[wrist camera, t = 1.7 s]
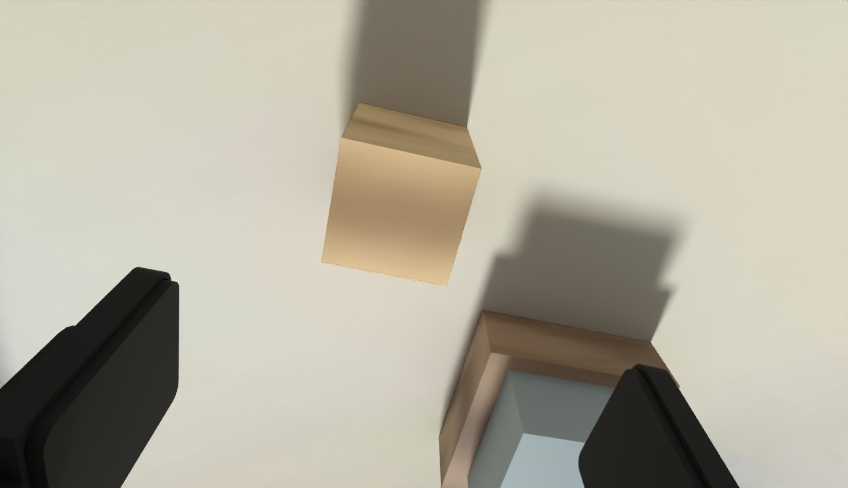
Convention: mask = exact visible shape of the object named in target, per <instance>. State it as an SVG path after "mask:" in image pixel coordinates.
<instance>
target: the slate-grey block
mask: <svg viewBox="0 0 848 488" xmlns="http://www.w3.org/2000/svg"><path fill="white" fill-rule="evenodd" d="M614 389H615V388H612V387H606V386H601V385H595V384H589V383H583V382H577V381H571V380H565V379H560V378H554V377H548V376H542V375H536V374H530V373H524V372H519V371H513V370H508V372H507V375H506V378H505V380H504V383H503V385H502V388H501V391H500V393H499V396H498V399H497V401H496V404H495V406H494V409H493V412H492V414H491V417H490V419H489V422H488V425H487V427H486V430H485V433H484V435H483V438H482V440H481V443H480V446H479V448H478V451H477V454H476V456H475V459H474V461H473V464H472V467H471V469H470V472H469V474H468V477H467V480H468V488H584V485H583V482H582V478H581V475H580V472H579V467H578V459H579V454H580V452H581V450H582V448H583V446H584V444H585V442H586V440H587V439H588V437H589V435H590V433H591V431H592V429H593V428H594V426H595V424H596V422H597V420H598V418H599V417H600V415H601V413H602V411H603V409H604V407H605V406H606V404H607V402H608V400H609V398H610V396H611V395H612V393H613V391H614Z"/></svg>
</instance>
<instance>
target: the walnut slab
mask: <svg viewBox="0 0 848 488" xmlns="http://www.w3.org/2000/svg"><path fill="white" fill-rule="evenodd" d="M636 364H643V365H648V366H653V367H658V368H663V369H665V370H667V371H668V372H669V374H670V375H671V377H672V378H673V380H674V382H675V383H676V385H677V387H678V388H679V387H680V386H679V385H678V383H677V381H676V380H675V378H674V377H673V375H672V374H671V372H670V371H669V369H668V368H667V366H666V365H665V363H664V362H663V360H662V359H661V357H660V356H659V354H658V353H657V351H656V350H655V348H654V347H653V345H652V344H651V342H646V341H641V340H636V339H631V338H625V337H620V336H615V335H610V334H604V333H599V332H594V331H589V330H584V329H578V328H573V327H568V326H563V325H558V324H552V323H547V322H542V321H537V320H531V319H526V318H521V317H516V316H511V315H505V314H500V313H495V312H490V311H484V310H482V313H481V316H480V319H479V322H478V325H477V328H476V331H475V334H474V337H473V339H472V342H471V345H470V348H469V351H468V354H467V357H466V360H465V363H464V366H463V369H462V372H461V375H460V378H459V380H458V383H457V386H456V389H455V392H454V395H453V398H452V401H451V404H450V407H449V410H448V413H447V416H446V419H445V421H444V424H443V427H442V430H441V433H440V436H439V450H440V472H441V488H468V480H467V477H468V474H469V472H470V469H471V467H472V464H473V461H474V459H475V456H476V454H477V451H478V448H479V446H480V443H481V440H482V438H483V435H484V433H485V430H486V427H487V425H488V422H489V419H490V417H491V414H492V412H493V409H494V406H495V404H496V401H497V399H498V396H499V393H500V391H501V388H502V385H503V383H504V380H505V378H506V375H507V372H508V370H513V371H519V372H524V373H530V374H536V375H542V376H548V377H554V378H560V379H565V380H571V381H577V382H583V383H589V384H595V385H601V386H606V387H612V388H615V387H616V385H617V384H618V382H619V380H620V378H621V376H622V374H623V373H624V372H625V370H627V369H632V367H633V366H635V365H636Z"/></svg>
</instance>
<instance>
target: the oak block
mask: <svg viewBox="0 0 848 488" xmlns="http://www.w3.org/2000/svg"><path fill="white" fill-rule="evenodd" d="M480 172H481V166H480V163H479V160H478V157H477V155H476V152H475V149H474V146H473V143H472V140H471V137H470V135H469V132H468V129H467V127H463V126H458V125H454V124H450V123H445V122H441V121H437V120H432V119H428V118H424V117H419V116H415V115H411V114H406V113H402V112H398V111H393V110H389V109H385V108H380V107H376V106H372V105H367V104H363V103H359V104H358V106H357V108H356V110H355V112H354V114H353V116H352V118H351V120H350V122H349V124H348V126H347V128H346V129H345V131H344V133H343V135H342V137H341V142H340V148H339V155H338V161H337V167H336V174H335V180H334V186H333V192H332V199H331V205H330V211H329V217H328V224H327V230H326V236H325V242H324V249H323V255H322V261H321V262H323V263H328V264H333V265H338V266H343V267H348V268H353V269H359V270H364V271H369V272H374V273H379V274H384V275H390V276H395V277H400V278H405V279H410V280H415V281H421V282H426V283H431V284H436V285H441V286H446V287H447V284H448V281H449V277H450V274H451V271H452V267H453V264H454V260H455V257H456V254H457V250H458V247H459V243H460V240H461V237H462V233H463V230H464V226H465V223H466V220H467V216H468V213H469V210H470V206H471V203H472V199H473V196H474V193H475V189H476V186H477V182H478V179H479V176H480Z"/></svg>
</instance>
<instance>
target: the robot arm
mask: <svg viewBox="0 0 848 488" xmlns="http://www.w3.org/2000/svg"><path fill="white" fill-rule="evenodd" d="M178 381H179V285H178V283H177V282H175V281H171V277H170V274H169V273H167V272H162V271H157V270H152V269H147V268H141V267H136V268H134V269H133V270H132V271H131V272H130V273H129V274H128V275H127V276H126V277H125V278H123V279H122V280H121V281H120V282H119V283H118V284H117V285H116V286H115V287H114V288H113V289H112V290H111V291H110V292H109V293H108V294H107V295H106V296H105V297H104V298H103V299H102V300H101V301H100V302H99V303H98V304H97V305H96V306H95V307H94V308H93V309H92V310H91V311H90V312H89V313H88V314H87V315H86V316H85V317H84V318H83V319H82V320H81V321H80V322H79V323H78V324H77V325H75V326H70V327H66V328H65V329H63V330H62V331H61V332H59V333H58V334H57V335H56V336H55V337H54V338H53V339H52V340H51V341H50V342H49V343H48V344H47V345H46V346H45V347H44V348H43V349H42V350H40V351H39V352H38V353H37V354H36V355H35V356H34V357H33V358H32V359H31V360H30V361H29V362H28V363H27V364H26V365H25V366H24V367H23V368H22V369H21V370H20V371H18V372H17V373H16V374H15V375H14V376H13V377H12V378H11V379H10V380H9V381H8V382H7V383H6V384H5V385H4V386H3V387H2V388H1V389H0V488H121V486H122V484H123V483H124V481H125V479H126V478H127V476H128V474H129V473H130V471H131V469H132V468H133V466H134V464H135V463H136V461H137V460H138V458H139V456H140V455H141V453H142V451H143V450H144V448H145V446H146V445H147V443H148V441H149V440H150V438H151V436H152V435H153V433H154V431H155V430H156V428H157V427H158V425H159V423H160V422H161V420H162V418H163V417H164V415H165V413H166V412H167V410H168V408H169V407H170V405H171V403H172V402H173V400H174V398H175V395H176V392H177V389H178ZM578 467H579V472H580V475H581V478H582V482H583V485H584V488H739V486H738V485H737V483H736V481H735V480H734V478H733V476H732V475H731V473H730V471H729V470H728V468H727V467H726V465H725V463H724V462H723V460H722V458H721V457H720V455H719V454H718V452H717V450H716V449H715V447H714V445H713V444H712V442H711V440H710V439H709V437H708V436H707V434H706V432H705V431H704V429H703V427H702V426H701V424H700V423H699V421H698V419H697V418H696V416H695V414H694V413H693V411H692V409H691V408H690V406H689V405H688V403H687V401H686V400H685V398H684V396H683V395H682V393H681V392H680V390H679V388H678V387H677V385H676V383H675V382H674V380H673V378H672V377H671V375H670V374H669V372H668V371H667V370H665V369H663V368H658V367H653V366H648V365H643V364H636V365H635V366H633V367H632V369H627V370H625V372H624V373H623V374H622V376H621V378H620V380H619V382H618V384H617V385H616V387H615V389H614V391H613V393H612V395H611V396H610V398H609V400H608V402H607V404H606V406H605V407H604V409H603V411H602V413H601V415H600V417H599V418H598V420H597V422H596V424H595V426H594V428H593V429H592V431H591V433H590V435H589V437H588V439H587V440H586V442H585V444H584V446H583V448H582V450H581V452H580V454H579V459H578Z"/></svg>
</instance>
